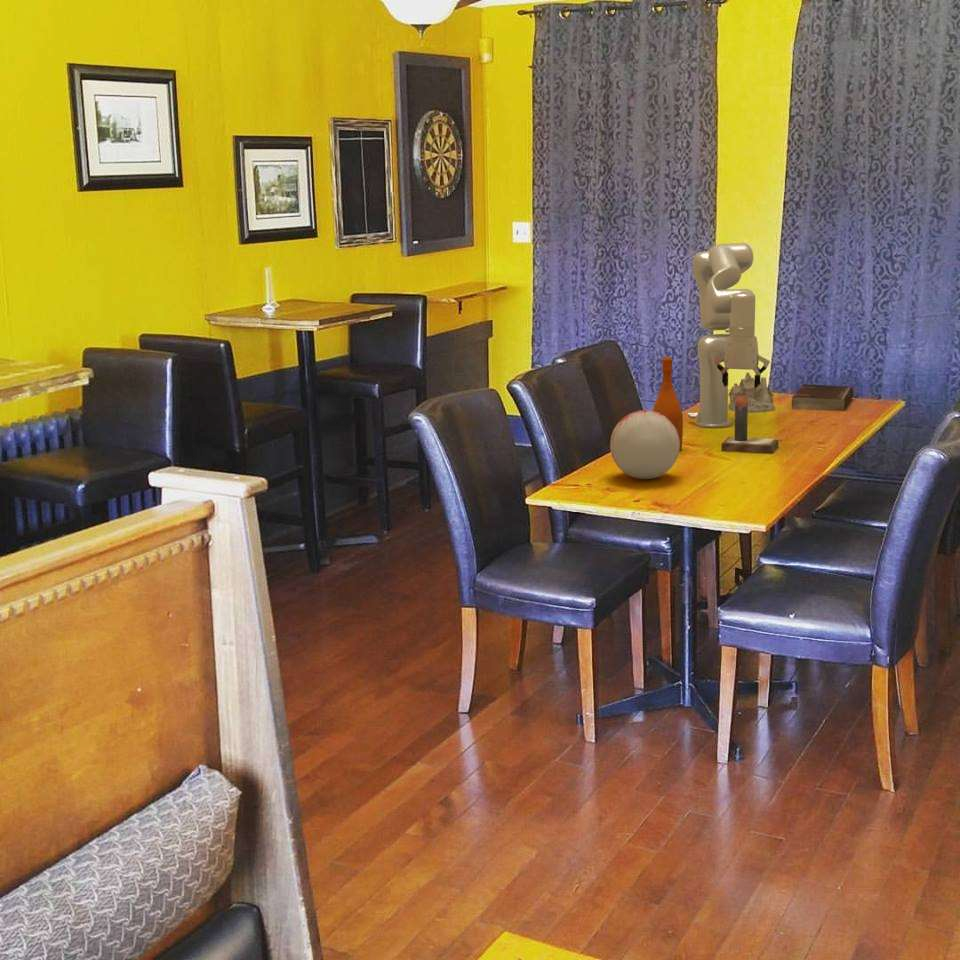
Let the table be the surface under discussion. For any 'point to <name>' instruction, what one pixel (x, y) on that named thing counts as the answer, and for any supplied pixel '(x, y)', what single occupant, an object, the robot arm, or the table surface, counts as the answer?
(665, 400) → the wine bottle
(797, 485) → the table surface
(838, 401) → the hardback book
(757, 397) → the miniature castle
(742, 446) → the picture frame
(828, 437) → the table surface
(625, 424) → the decorative orb
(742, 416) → the marker
